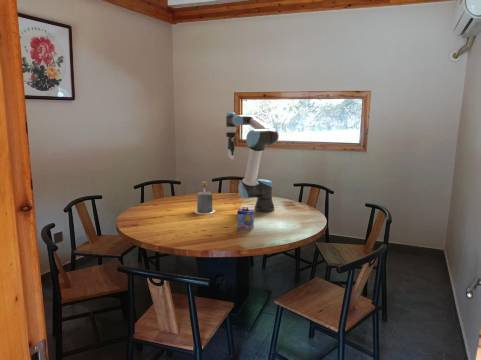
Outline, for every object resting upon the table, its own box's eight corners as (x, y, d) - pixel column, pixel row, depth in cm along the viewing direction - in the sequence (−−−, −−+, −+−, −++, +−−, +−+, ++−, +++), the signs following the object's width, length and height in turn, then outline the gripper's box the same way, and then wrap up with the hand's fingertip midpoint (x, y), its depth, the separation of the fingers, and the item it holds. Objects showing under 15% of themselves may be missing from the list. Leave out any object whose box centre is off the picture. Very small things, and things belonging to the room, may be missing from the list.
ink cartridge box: (237, 229, 237) (237, 207, 234) (238, 226, 242) (238, 205, 239) (252, 230, 235) (252, 208, 232) (253, 227, 240) (253, 206, 237)
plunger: (209, 205, 280) (209, 180, 276) (210, 207, 272) (210, 182, 269) (199, 205, 279) (198, 180, 275) (199, 208, 271) (199, 183, 267)
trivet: (214, 209, 285) (214, 208, 285) (216, 214, 270) (216, 213, 270) (193, 210, 283) (193, 209, 283) (194, 215, 267) (194, 214, 267)
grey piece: (211, 208, 285) (211, 190, 283) (212, 213, 271) (212, 194, 269) (196, 208, 283) (196, 190, 281) (197, 213, 270) (197, 194, 267)
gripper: (224, 131, 309) (224, 156, 313) (228, 132, 285) (228, 160, 289) (233, 131, 310) (233, 156, 314) (237, 132, 286) (237, 160, 290)
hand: (231, 158), depth 301 cm, fingers open, 13 cm apart
